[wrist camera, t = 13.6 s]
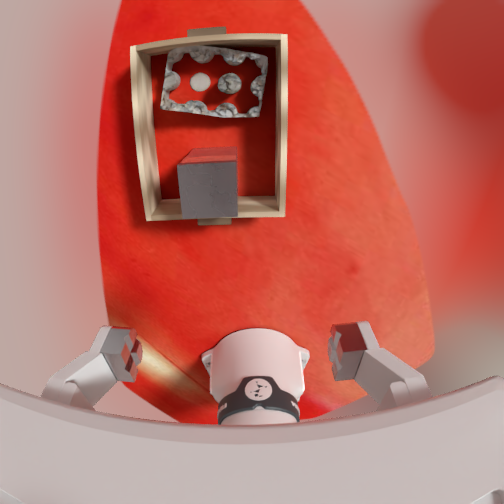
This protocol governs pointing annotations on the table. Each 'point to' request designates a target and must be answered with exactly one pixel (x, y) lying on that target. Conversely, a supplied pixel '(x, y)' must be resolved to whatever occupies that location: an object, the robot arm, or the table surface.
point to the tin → (209, 183)
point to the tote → (146, 132)
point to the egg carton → (201, 81)
